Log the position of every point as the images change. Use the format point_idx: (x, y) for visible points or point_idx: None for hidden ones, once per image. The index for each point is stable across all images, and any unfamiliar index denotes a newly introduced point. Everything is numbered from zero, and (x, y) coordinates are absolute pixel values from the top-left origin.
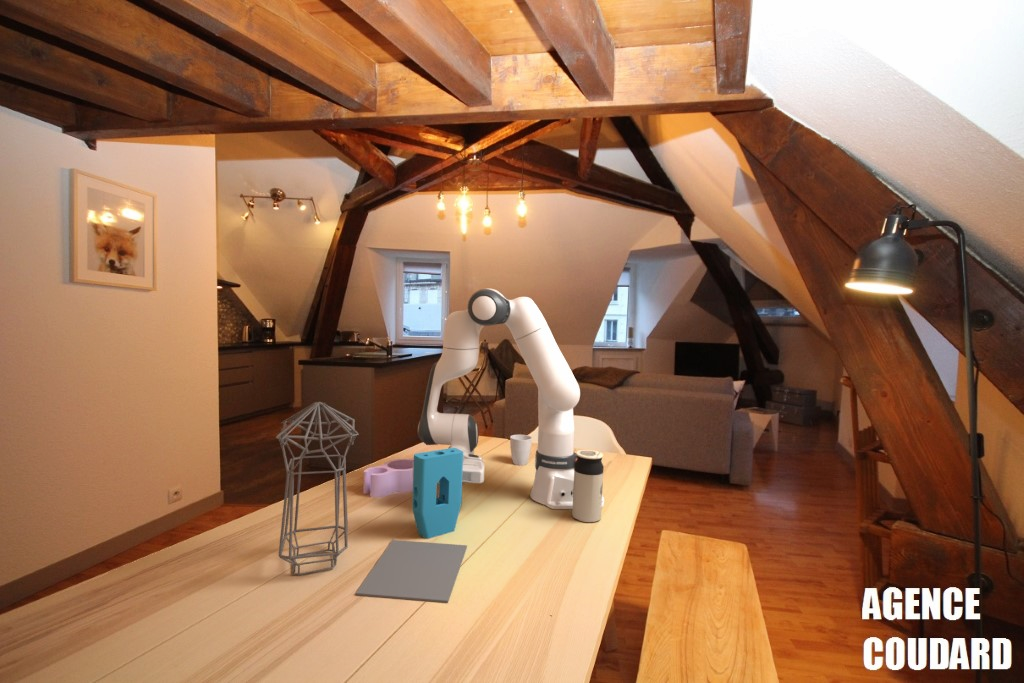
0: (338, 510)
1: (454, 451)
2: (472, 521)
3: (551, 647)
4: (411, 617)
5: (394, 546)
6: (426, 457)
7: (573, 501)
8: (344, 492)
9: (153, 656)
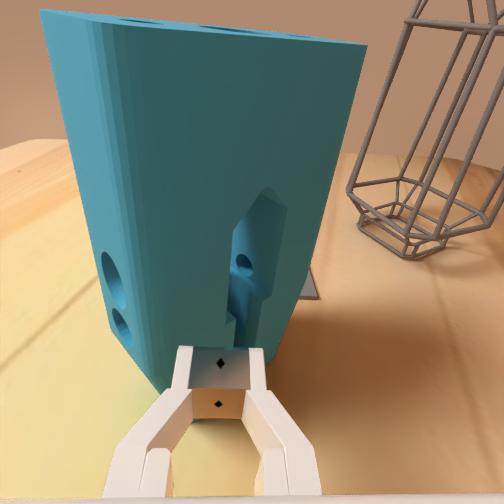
0: (447, 200)
1: (120, 19)
2: (54, 477)
3: (47, 150)
4: None
5: None
6: (279, 32)
7: None
8: (385, 82)
9: (389, 160)
